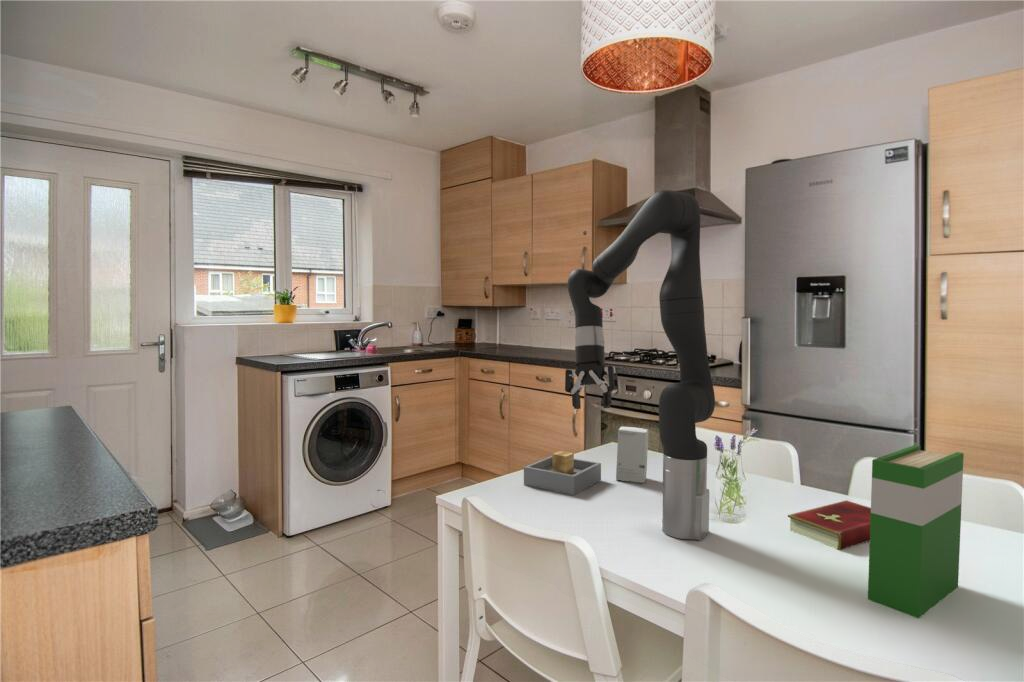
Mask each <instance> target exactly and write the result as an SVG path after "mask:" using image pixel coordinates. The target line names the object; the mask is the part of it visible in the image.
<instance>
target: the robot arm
mask: <svg viewBox="0 0 1024 682" xmlns="http://www.w3.org/2000/svg"><path fill="white" fill-rule="evenodd" d="M621 232H622V233H621V234H619V236H618V237H617V238H616V239H615V240H614V241H613V242H612V243H611V244H609V246H608V247H607V248H605V250H603V251H602V252H600V254H599V255H598V256H597V257H596V258H595V259H594V260H593V262H592V267H591V268H592V270H588V269H584V268H583V269H582V268H577V269H574V270H572V271H571V273H570V274H569V276H568V279H567V291H568V294H569V298H570V299H569V300H570V302H571V306H572V308H573V311H574V321H575V324H574V325H575V327H574V328H575V331H574V332H575V333H574V350H575V351H574V352H575V353H574V355H575V356H574V357H575V358H574V359H575V360H574V361H575V365H576V368H575V369H569V368H568V369H565V377H564V378H565V379H564V391H565V392H566V393H568V394H571V400H572V401H571V402H572V404H571V405H572V408H573V409H574V410H580V409H581V407H582V406H581V394H580V393H581V392H582V390H583V389H584V388H585V387H586V386H591V385H595V386H598V387H600V388H601V390H602V391H603V392H602V407H603V409H610V407H612V403H613V402H612V393H613V392H614V391H618V389H619V380H618V371H617V366H614V365H608V366H606V365H605V362H606V357H605V356H606V355H605V336H604V329H603V325H604V324H603V311H602V308H601V307H600V306H598V305H597V304H594V303H593V302H592V301H591V300H590V299H591V298H592V299H597V298H600V297H602V296H604V295H605V294H606V293H607V292H608V290H610V287H611V286H612V284H613V283H614V281H615V279H616V278H617V277H618V276H620V275H621V274H622V273H624V272H625V271H626V270H627V269H629V267H630V266H631V265H632V264H633V263H634V261H635V260H636V258H637V255H638V254H639V249H640V248H641V246H642V245H643V244H644V243H646V241H647V240H649V239H650V238H652V237H653V236H655V235H658V234H659V233H660V234H667V235H668V234H669V236H670V247H671V259H670V263H669V266H668V269H667V270H666V271H667V272H666V274H665V276H664V279H663V281H662V283H661V287H660V290H659V296H658V297H659V311H660V323H661V326H662V328H663V331H664V333H665V335H666V337H667V339H668V341H669V342H670V343H669V344H671V346H672V348H673V350H674V352H675V354H676V356H677V361H678V365H679V372H680V373H679V375H680V376H679V377H680V382H674V383H670V384H668V385H666V386H665V387H664V388H663V389H662V391H661V392H660V395H659V399H658V428H659V440H660V442H661V445H662V449H663V450H662V451H663V452H662V453H663V454H662V520H661V521H662V522H661V523H662V525H661V526H662V532H663V533H664V534H666V535H667V536H670V537H672V538H676V539H682V540H697V541H702V540H703V538H704V537H706V535H707V534H708V533H709V532H710V489H709V488H707V487H708V486H707V483H708V482H707V480H708V477H707V475H708V474H707V473H708V445H707V443H706V442H705V441H703V440H701V439H698V437H697V431H696V430H697V429H696V427H697V426H696V424H698V423H703V422H705V421H707V420H709V419H711V417H712V416H713V414H714V411H715V407H716V396H715V389H714V384H713V378H712V374H711V368H710V364H709V362H710V361H709V358H708V357H709V355H708V348H707V347H708V345H707V336H706V327H705V310H704V309H705V307H704V296H703V289H702V288H703V286H702V277H701V276H702V275H701V274H702V272H701V256H700V255H701V253H700V252H701V247H700V246H701V208H700V205H699V202H698V200H697V198H696V197H695V196H694V195H692V194H691V193H688V192H683V191H677V190H675V191H674V190H667V189H665V190H663V189H662V190H659V191H656V192H655V193H653V194H652V195H651V196H650V197H649V198H648V199H647V200H646V202H644V204H643V205H642V206H641V208H640V209H639V210H638V211H637V213H636V214H635V216H634V217H633V218H632V220H630V222H629V223H628V224H627V226H626V227H625V228H624V230H622V231H621ZM605 375H608V381H607V379H606V378H605ZM575 377H577V379H575Z"/></svg>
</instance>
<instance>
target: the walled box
mask: <svg viewBox="0 0 1024 682" xmlns="http://www.w3.org/2000/svg"><path fill="white" fill-rule="evenodd" d="M601 480H602V463H601V462H598V461H597V462H596V461H589V460H585V459H580V458H574V475H569V474H564V473H559V472H553V471H552V455H550V456H548V457H545V458H542V459H541V460H538V461H536V462H533V463H531V464H528V465H525V466H524V467H523V485H524V486H528V485H529V486H528V487H533V486H534V488H537V487H538V488H537V489H542V488H543V489H544V490H547V489H548V490H547V491H552V490H553V491H552V492H556V491H557V492H556V493H561V492H562V493H563V494H567V495H571V496H575V495H577V494H579V493H581V492H582V491H584V490H586V489H588V488H589V486H590V487H591V486H593V485H595V484H596V482H597V483H599V482H601ZM598 481H599V482H598ZM594 483H595V484H594ZM587 487H588V488H587ZM543 489H542V490H543ZM580 491H581V492H580Z"/></svg>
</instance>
